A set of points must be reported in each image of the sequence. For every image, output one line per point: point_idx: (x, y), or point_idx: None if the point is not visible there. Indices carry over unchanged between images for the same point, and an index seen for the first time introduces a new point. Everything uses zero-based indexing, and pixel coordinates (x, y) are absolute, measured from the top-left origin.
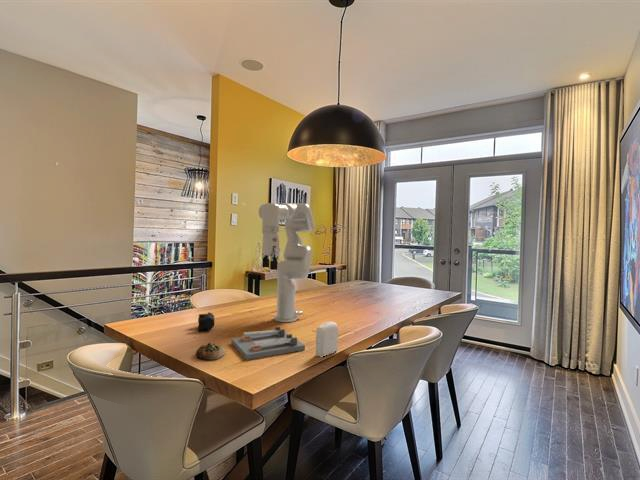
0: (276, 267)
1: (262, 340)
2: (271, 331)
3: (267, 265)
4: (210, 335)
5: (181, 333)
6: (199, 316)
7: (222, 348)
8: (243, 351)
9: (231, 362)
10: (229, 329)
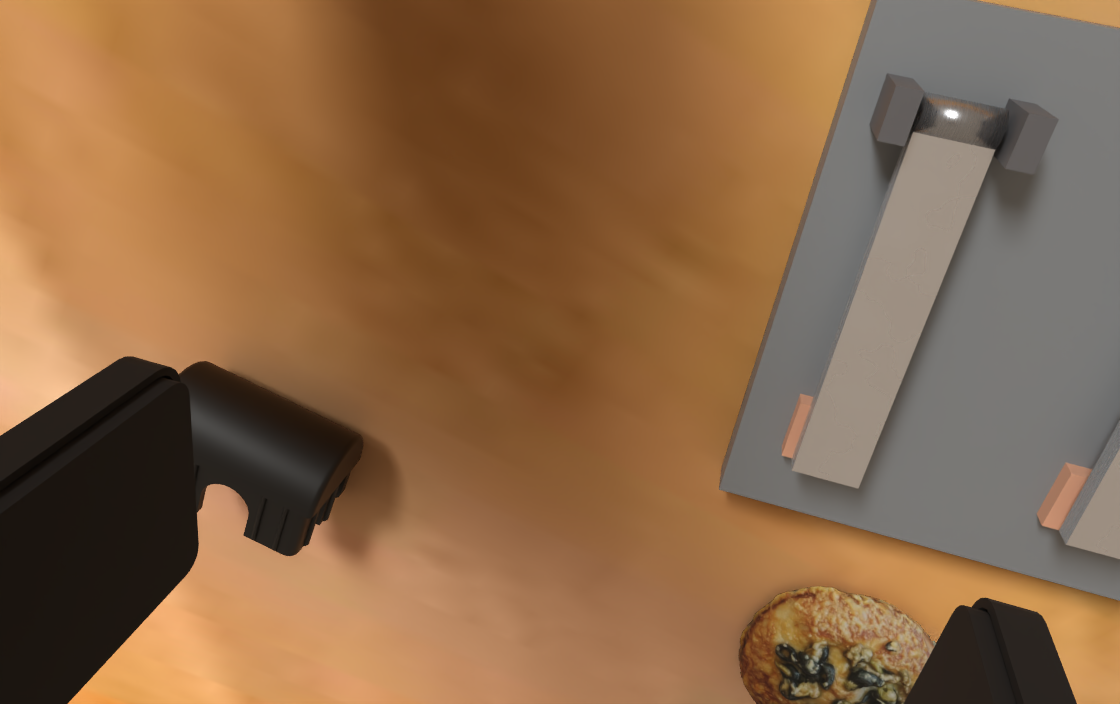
0: (1045, 695)
1: (1115, 474)
2: (929, 231)
3: (155, 459)
4: (459, 476)
5: (325, 574)
6: (201, 504)
7: (897, 652)
8: (1044, 578)
9: (1057, 648)
10: (383, 302)
